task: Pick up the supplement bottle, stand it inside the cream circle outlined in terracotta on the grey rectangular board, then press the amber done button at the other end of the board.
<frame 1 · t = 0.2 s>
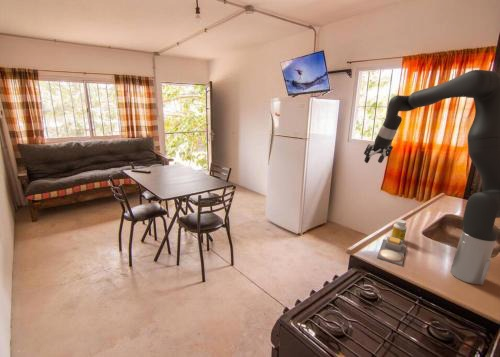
hand: (372, 162, 139), 31 cm above the worktop, tool tilted 20°, fingers open, 8 cm apart
done button: (394, 241, 113), point 3 cm above the worktop, slide at 0.0 cm
grey rectangular board: (391, 251, 111), on the worktop
supplement bottle: (397, 239, 121), on the worktop
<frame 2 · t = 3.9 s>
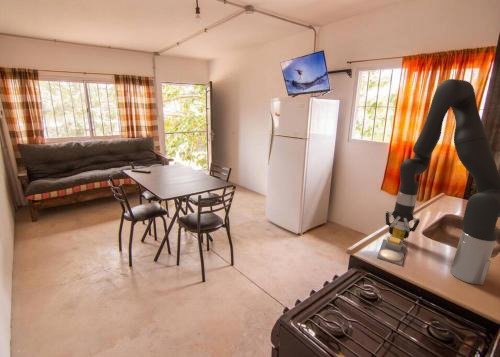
hand: (398, 235, 121), 2 cm above the worktop, tool pointing down, fingers closed on supplement bottle, 5 cm apart
supplement bottle: (397, 239, 121), on the worktop, touching gripper
everything else where it was.
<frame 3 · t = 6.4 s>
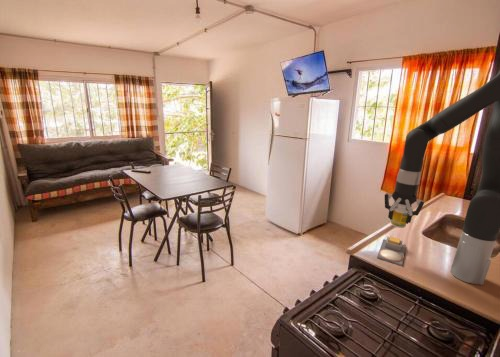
hand: (398, 220, 105), 15 cm above the worktop, tool pointing down, fingers closed on supplement bottle, 5 cm apart
supplement bottle: (397, 225, 105), point 13 cm above the worktop, touching gripper
everything else where it was.
when the fingers open (4 cm above the worktop, at t = 9.3 s): supplement bottle drops 1 cm, resting on grey rectangular board.
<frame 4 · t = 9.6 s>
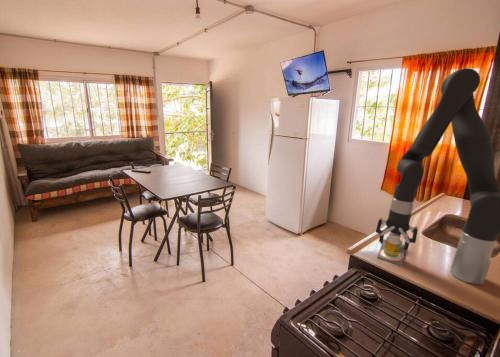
hand: (392, 246, 106), 5 cm above the worktop, tool pointing down, fingers open, 8 cm apart
supplement bottle: (390, 255, 107), point 1 cm above the worktop, touching grey rectangular board
everything else where it was.
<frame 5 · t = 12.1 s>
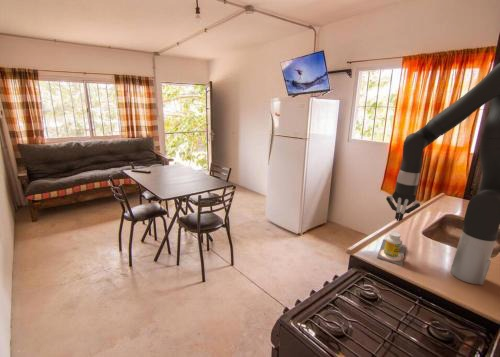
hand: (398, 220, 110), 13 cm above the worktop, tool pointing down, fingers closed
nothing on the worktop moved.
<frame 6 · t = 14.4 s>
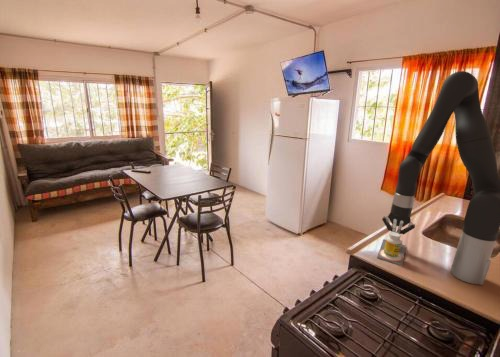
hand: (394, 240, 113), 3 cm above the worktop, tool pointing down, fingers closed
done button: (394, 242, 113), point 2 cm above the worktop, slide at 0.6 cm, touching gripper
everything else where it was.
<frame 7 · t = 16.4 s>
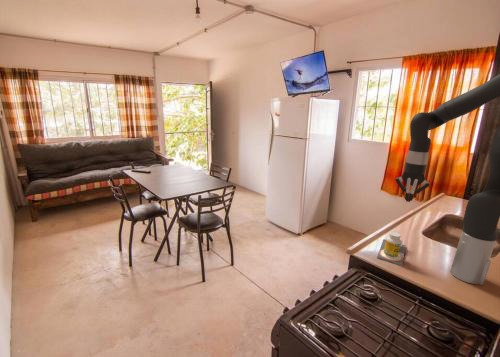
hand: (408, 201, 112), 21 cm above the worktop, tool pointing down, fingers closed
done button: (393, 243, 114), point 2 cm above the worktop, slide at 0.8 cm
everything else where it was.
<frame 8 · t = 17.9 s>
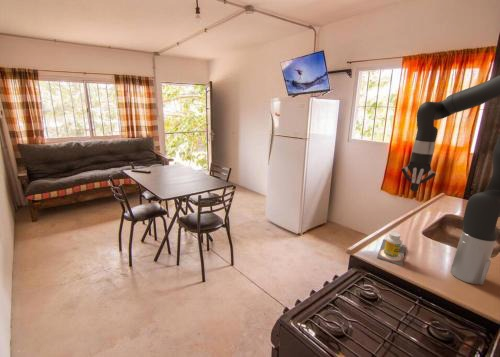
hand: (413, 191, 112), 25 cm above the worktop, tool pointing down, fingers closed
nothing on the worktop moved.
at the end: supplement bottle 0.1 cm from the target spot on the grey rectangular board, point 0.7 cm above the grey rectangular board's base; supplement bottle tilted 0°; done button slide at 0.8 cm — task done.
